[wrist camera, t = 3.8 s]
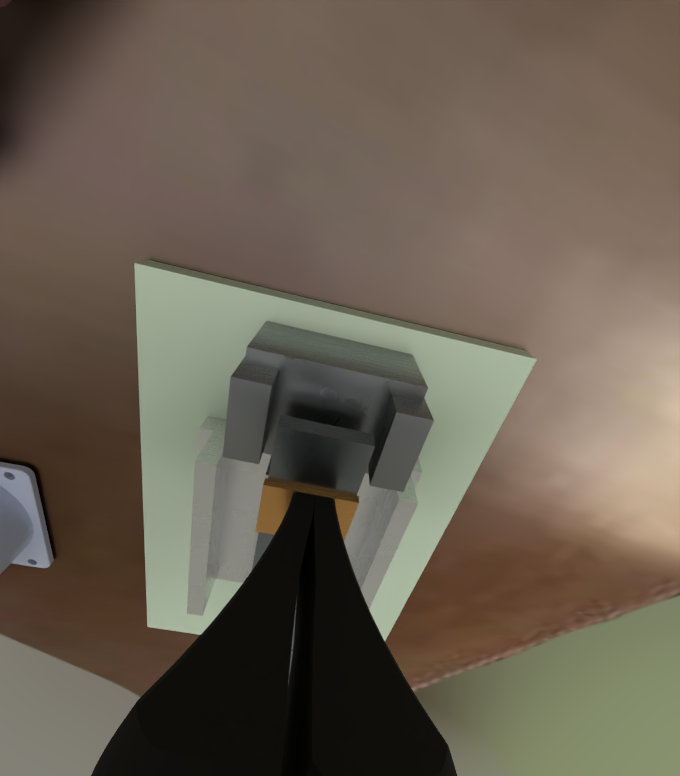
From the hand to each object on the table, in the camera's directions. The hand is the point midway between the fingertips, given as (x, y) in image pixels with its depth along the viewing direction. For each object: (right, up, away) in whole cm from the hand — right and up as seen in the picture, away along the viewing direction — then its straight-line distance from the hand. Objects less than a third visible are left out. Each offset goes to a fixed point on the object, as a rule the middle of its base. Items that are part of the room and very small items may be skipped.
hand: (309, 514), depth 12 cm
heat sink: (-1, -2, +6) cm, 7 cm away
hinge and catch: (-1, -3, +6) cm, 7 cm away
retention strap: (-1, -4, +3) cm, 5 cm away
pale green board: (-1, -3, +8) cm, 8 cm away
